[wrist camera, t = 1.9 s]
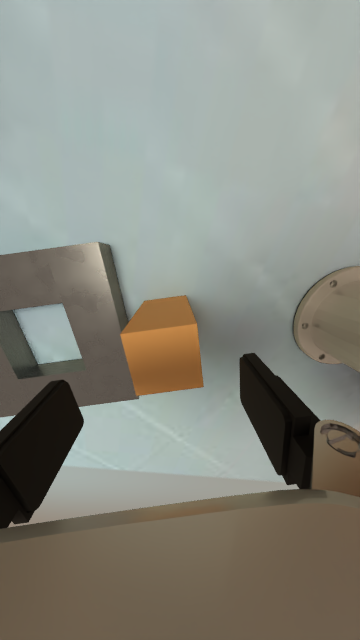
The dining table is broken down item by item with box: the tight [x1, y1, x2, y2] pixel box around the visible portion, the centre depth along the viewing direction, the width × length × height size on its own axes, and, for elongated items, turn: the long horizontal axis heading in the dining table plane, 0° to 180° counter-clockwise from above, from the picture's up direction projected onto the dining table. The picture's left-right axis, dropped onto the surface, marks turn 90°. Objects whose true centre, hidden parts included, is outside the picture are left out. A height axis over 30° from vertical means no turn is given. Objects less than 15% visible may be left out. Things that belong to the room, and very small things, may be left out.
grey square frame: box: [0, 242, 139, 417], centre depth 20 cm, size 18×18×3 cm
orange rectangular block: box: [120, 295, 203, 396], centre depth 17 cm, size 5×5×10 cm
